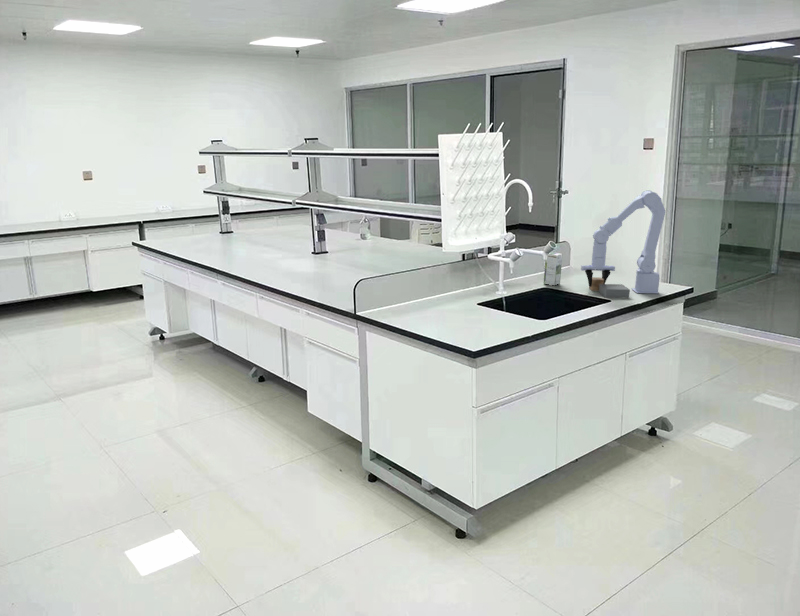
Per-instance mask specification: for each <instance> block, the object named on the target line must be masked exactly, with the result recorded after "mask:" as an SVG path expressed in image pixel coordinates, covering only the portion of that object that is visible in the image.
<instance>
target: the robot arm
mask: <svg viewBox="0 0 800 616" xmlns="http://www.w3.org/2000/svg"><path fill="white" fill-rule="evenodd" d="M646 207H647V208H648V210H649V211H650V213H651V218H650V221H649V222H650V223H649V226H648V231H647V235H646V237H645V238H646V239H645V242H644V247H643V250H642V251H641V253H640V256H639V257H638V258H637V260H636V264H637V267H638V268H637V269H636V272H635V273H636V275H635V284H634V287H632V288H631V290H632V291H634V292H635V293H636V294H659V293H660V292H659V289H660V287H659V286H660V273H659V272H657V271H655V269H656V265H657V264H656V252H657V251H656V250H657V246H658V242H659V239H660V236H661V235H660V234H661V230H662V227H663V223H664V219H665V215H666V208H665V206H664V203H663V199H662V198H661V196H660V195H659V194H658V193H657V192H654V191H652V190H645V191H643V192H642V193H641V194H639V195H637V196H636V197H635V198H634V199H633V200H632V201H631V202H630V203H629V204H628V205H626V207H625V208H624V209H622V210H621V212H620V213H619V214H618V215H617V216H615V215H614V216H611V217H608V218H607V221H606V222H605V223H604V224H602V225H600V226H598V227H599V229H596V230H595V231H594V232H593V235H592V238H593V245H592V254H591V255H592V256H591V264H589V265H588V264H587V265H580V270H581V271H583V272H585V275H586V277H587V282H588V287H589V286H590V287H591V285H592V277H593V276H594V275H593V274H594V271H600V272H601V278H602V279H604V284H606V282H607V280H608V278H609V276H610V275H611V272H615V271H616V267H615V266H614V265H606V259H607V258H606V257H607V256H606V255H607V244H608V243H607V242H608V240H609V237H611V236H612V235H613V234H615V233H616V232H617V231H618V230H619V229H620V228H621V227H622V226H623V221H625V220H626V219H627V218H628V217H630V216H631V215H632V214H633V213H635V211H636V210H640V209H644V208H646Z"/></svg>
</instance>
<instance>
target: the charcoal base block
mask: <svg viewBox="0 0 800 616" xmlns="http://www.w3.org/2000/svg"><path fill="white" fill-rule="evenodd" d="M630 292H631V290H630V288H628V287H627V286H625V285H624V284H621V283H619V284H618V283H617V284H616V283H614V284H612V283H607V284H606V283H605V284H599V291H598V293H599V294H600V293H601V294H600V295H602V296H603V297H604V298H605V297H606V299H609V298H610V299H614V298H615V299H620V298H619V297H629V298H630Z"/></svg>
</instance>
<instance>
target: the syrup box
mask: <svg viewBox="0 0 800 616" xmlns="http://www.w3.org/2000/svg"><path fill="white" fill-rule="evenodd" d="M547 254H548V253H547ZM545 260H546V259H545ZM562 264H563V254H562V253H559V252H549V254H548V256H547V260H546V261H545V263H544V275H543V285H545V284H551V285H550V286H552V285H556V286H558V285H560V284H561V277H562V276H561V275H562ZM557 284H558V285H557Z"/></svg>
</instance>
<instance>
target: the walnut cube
mask: <svg viewBox="0 0 800 616" xmlns="http://www.w3.org/2000/svg"><path fill="white" fill-rule="evenodd" d="M599 284H604V279H602V276H600V277H596V276H595V277H593V276H592V285H591V287H590V286H589V285H588V289H589V290H591V292H592V291H593V292H595V291H597V292H599Z"/></svg>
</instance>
